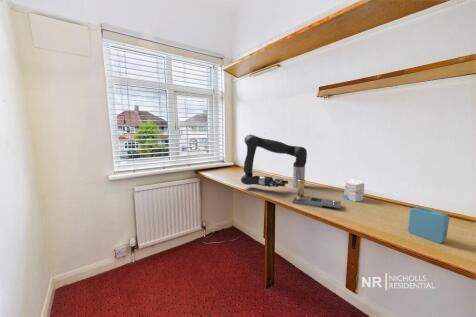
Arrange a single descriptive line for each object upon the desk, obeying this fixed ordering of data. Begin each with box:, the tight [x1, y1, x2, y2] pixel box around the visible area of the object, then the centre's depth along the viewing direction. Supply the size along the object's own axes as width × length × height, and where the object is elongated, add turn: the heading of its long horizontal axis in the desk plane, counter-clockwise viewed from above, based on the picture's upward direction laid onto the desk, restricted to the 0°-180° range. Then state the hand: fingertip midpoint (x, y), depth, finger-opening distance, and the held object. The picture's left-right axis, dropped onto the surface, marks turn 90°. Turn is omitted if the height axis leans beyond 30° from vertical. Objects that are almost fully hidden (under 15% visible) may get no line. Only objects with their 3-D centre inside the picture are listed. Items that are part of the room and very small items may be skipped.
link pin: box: [297, 179, 306, 198], centre depth 147 cm, size 5×5×12 cm
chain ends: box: [291, 196, 342, 209], centre depth 131 cm, size 28×9×4 cm, turn 61°
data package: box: [407, 206, 450, 244], centre depth 91 cm, size 12×4×12 cm, turn 30°
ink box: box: [343, 178, 365, 202], centre depth 139 cm, size 9×8×13 cm
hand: (286, 183), depth 151 cm, fingers open, 8 cm apart
